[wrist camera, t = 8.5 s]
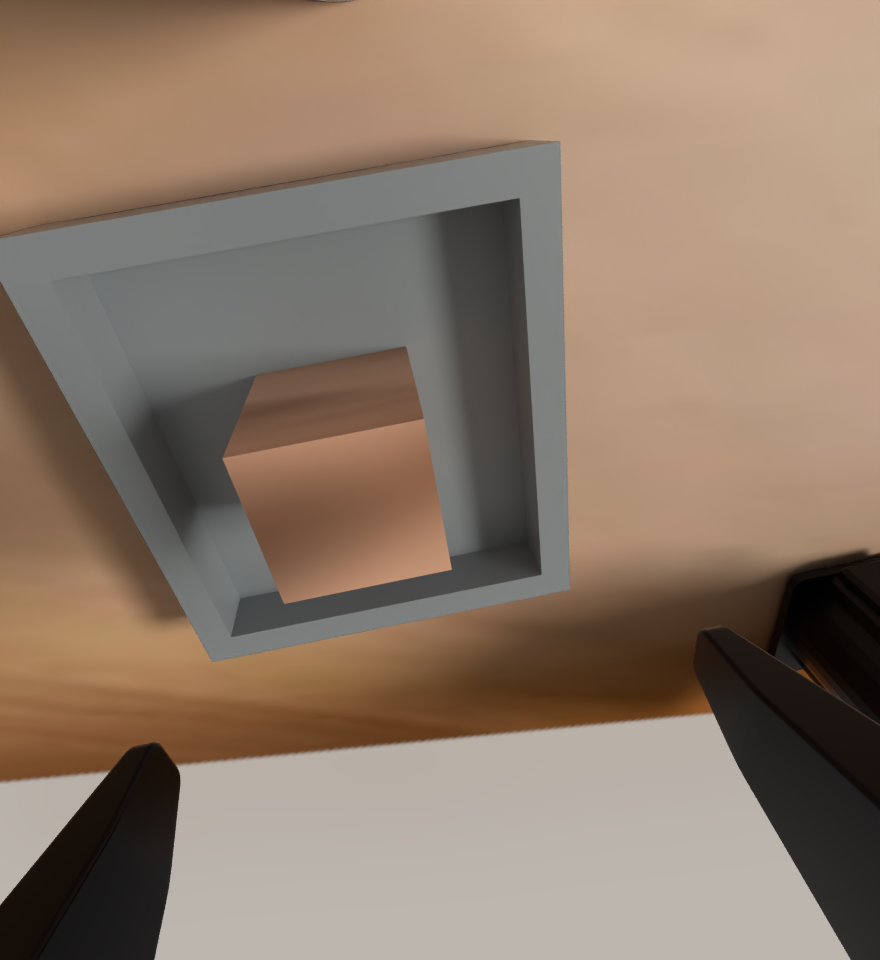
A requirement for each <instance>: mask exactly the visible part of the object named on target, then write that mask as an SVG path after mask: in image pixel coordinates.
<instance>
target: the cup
mask: <svg viewBox="0 0 880 960" xmlns="http://www.w3.org/2000/svg"><path fill="white" fill-rule="evenodd" d="M317 1H326V2H344V1H352V0H317Z"/></svg>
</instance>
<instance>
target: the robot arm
mask: <svg viewBox="0 0 880 960" xmlns="http://www.w3.org/2000/svg"><path fill="white" fill-rule="evenodd" d="M693 664H694V670H695V673H696V676H697V678H698V680H699V683H700V685H701V687H702V689H703V691H704V694H705V696H706V698H707V700H708V702H709V704H710V707H711V709H712V711H713V713H714V715H715V717H716V720H717V722H718V724H719V726H720V729H721V731H722V733H723V735H724V737H725V739H726V742H727V744H728V746H729V748H730V750H731V752H732V755H733V756H734V759H735V761H736V763H737V765H738V767H739V769H740V770H741V772H742V774H743V776H744V778H745V779H746V781H747V783H748V784H749V786H750V788H751V790H752V791H753V793H754V795H755V797H756V798H757V800H758V802H759V803H760V805H761V807H762V808H763V810H764V812H765V813H766V815H767V817H768V819H769V820H770V822H771V824H772V826H773V827H774V829H775V831H776V832H777V834H778V836H779V838H780V839H781V841H782V843H783V844H784V846H785V848H786V849H787V851H788V853H789V855H790V856H791V858H792V860H793V862H794V863H795V865H796V867H797V868H798V870H799V872H800V873H801V875H802V877H803V879H804V880H805V882H806V884H807V885H808V887H809V889H810V891H811V892H812V894H813V896H814V897H815V899H816V901H817V903H818V904H819V906H820V908H821V909H822V911H823V913H824V915H825V916H826V918H827V920H828V921H829V923H830V925H831V927H832V928H833V930H834V932H835V933H836V935H837V937H838V939H839V940H840V942H841V944H842V945H843V947H844V949H845V951H846V952H847V954H848V956H849V957H850V959H851V960H880V557H878V558H873V559H868V560H863V561H858V562H853V563H848V564H844V565H839V566H834V567H829V568H824V569H819V570H814V571H809V572H804V573H800V574H797V575H795V576H793V577H792V578H791V579H790V580H789V581H788V583H787V587H786V591H785V594H784V598H783V602H782V606H781V609H780V613H779V617H778V620H777V624H776V628H775V632H774V635H773V639H772V643H771V646H770V650H769V653H767V652H766V651H764V650H762V649H761V648H759V647H758V646H756V645H755V644H753V643H751V642H750V641H748V640H747V639H745V638H744V637H742V636H741V635H739V634H737V633H736V632H734V631H733V630H731V629H730V628H728V627H725V626H715V627H710V628H705V629H702V630H700V631H699V632H698V634H697V640H696V646H695V653H694V660H693ZM801 669H803V670H804V671H805V672H806V673H807V674H808V676H809V677H810V678H811V679H812V680H813V682H812V681H811V680H809V679H808V678H806V677H805V676H803V675H801V674H800V673H798V672H797V670H801ZM179 792H180V773H179V770H178V768H177V766H176V765H175V764H174V762H173V761H172V760H171V758H170V757H169V755H168V754H167V753H166V751H165V750H164V749H163V747H162V746H161V745H160V744H158V743H156V742H153V743H148V744H143V745H138V746H135V747H132V748H130V749H129V750H128V751H127V752H126V753H125V754H124V755H123V756H122V758H121V759H120V760H119V761H118V762H117V764H116V765H115V766H114V767H113V769H112V770H111V771H110V772H109V773H108V775H107V776H106V777H105V778H104V780H103V781H102V782H101V783H100V784H99V786H98V787H97V788H96V789H95V790H94V792H93V793H92V794H91V796H90V797H89V798H88V799H87V800H86V801H85V803H84V804H83V805H82V806H81V807H80V809H79V810H78V811H77V812H76V814H75V815H74V816H73V817H72V818H71V820H70V821H69V822H68V823H67V825H66V826H65V827H64V828H63V829H62V831H61V832H60V833H59V834H58V835H57V837H56V838H55V839H54V841H53V842H52V843H51V844H50V845H49V847H48V848H47V849H46V850H45V851H44V853H43V854H42V855H41V856H40V857H39V859H38V860H37V861H36V862H35V863H34V865H33V866H32V867H31V868H30V870H29V871H28V872H27V873H26V875H25V876H24V877H23V878H22V879H21V881H20V882H19V883H18V884H17V886H16V887H15V888H14V889H13V890H12V892H11V893H10V894H9V895H8V896H7V898H6V899H5V900H4V901H3V902H2V904H1V905H0V960H154V958H155V954H156V949H157V944H158V939H159V934H160V929H161V924H162V919H163V915H164V910H165V905H166V900H167V894H168V889H169V883H170V874H171V867H172V858H173V848H174V839H175V830H176V820H177V811H178V801H179Z"/></svg>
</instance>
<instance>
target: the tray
mask: <svg viewBox="0 0 880 960" xmlns="http://www.w3.org/2000/svg"><path fill="white" fill-rule="evenodd" d="M0 282H1V283H2V285H3V287H4V289H5V291H6V292H7V294H8V296H9V298H10V300H11V301H12V303H13V305H14V307H15V309H16V310H17V312H18V314H19V316H20V318H21V319H22V321H23V323H24V325H25V327H26V328H27V330H28V332H29V334H30V336H31V337H32V339H33V341H34V343H35V345H36V346H37V348H38V350H39V352H40V353H41V355H42V357H43V359H44V361H45V362H46V364H47V366H48V368H49V370H50V371H51V373H52V375H53V377H54V379H55V380H56V382H57V384H58V386H59V388H60V389H61V391H62V393H63V395H64V397H65V398H66V400H67V402H68V404H69V406H70V407H71V409H72V411H73V413H74V415H75V416H76V418H77V420H78V422H79V424H80V425H81V427H82V429H83V431H84V432H85V434H86V436H87V438H88V440H89V441H90V443H91V445H92V447H93V449H94V450H95V452H96V454H97V456H98V458H99V459H100V461H101V463H102V465H103V467H104V468H105V470H106V472H107V474H108V476H109V477H110V479H111V481H112V483H113V485H114V486H115V488H116V490H117V492H118V494H119V495H120V497H121V499H122V501H123V503H124V504H125V506H126V508H127V510H128V511H129V513H130V515H131V517H132V519H133V520H134V522H135V524H136V526H137V528H138V529H139V531H140V533H141V535H142V537H143V538H144V540H145V542H146V544H147V546H148V547H149V549H150V551H151V553H152V555H153V556H154V558H155V560H156V562H157V564H158V565H159V567H160V569H161V571H162V573H163V574H164V576H165V578H166V580H167V582H168V583H169V585H170V587H171V589H172V590H173V592H174V594H175V596H176V598H177V599H178V601H179V603H180V605H181V607H182V608H183V610H184V612H185V614H186V616H187V617H188V619H189V621H190V623H191V625H192V626H193V628H194V630H195V632H196V634H197V635H198V637H199V639H200V641H201V643H202V644H203V646H204V648H205V650H206V652H207V653H208V655H209V657H210V659H211V661H212V662H216V661H221V660H226V659H231V658H236V657H241V656H246V655H251V654H256V653H261V652H265V651H270V650H275V649H280V648H285V647H290V646H295V645H300V644H305V643H310V642H315V641H320V640H325V639H330V638H335V637H340V636H344V635H349V634H354V633H359V632H364V631H369V630H374V629H379V628H384V627H389V626H394V625H399V624H404V623H409V622H414V621H419V620H423V619H428V618H433V617H438V616H443V615H448V614H453V613H458V612H463V611H468V610H473V609H478V608H483V607H488V606H493V605H497V604H502V603H507V602H512V601H517V600H522V599H527V598H532V597H537V596H542V595H547V594H552V593H557V592H562V591H567V590H570V571H569V524H568V478H567V432H566V386H565V340H564V294H563V247H562V201H561V155H560V141H534V140H530V141H524V142H518V143H512V144H507V145H501V146H495V147H489V148H484V149H478V150H472V151H466V152H461V153H455V154H449V155H443V156H437V157H432V158H426V159H420V160H414V161H409V162H403V163H397V164H391V165H386V166H380V167H374V168H368V169H363V170H357V171H351V172H345V173H339V174H334V175H328V176H322V177H316V178H311V179H305V180H299V181H293V182H288V183H282V184H276V185H270V186H265V187H259V188H253V189H247V190H241V191H236V192H230V193H224V194H218V195H213V196H207V197H201V198H195V199H190V200H184V201H178V202H172V203H167V204H161V205H155V206H149V207H143V208H138V209H132V210H126V211H120V212H115V213H109V214H103V215H97V216H92V217H86V218H80V219H74V220H69V221H63V222H57V223H51V224H46V225H40V226H34V227H31V228H27V229H24V230H20V231H17V232H13V233H10V234H6V235H3V236H0ZM405 346H406V348H407V352H408V356H409V360H410V364H411V368H412V372H413V376H414V380H415V384H416V388H417V392H418V396H419V400H420V404H421V408H422V412H423V416H424V421H425V426H426V432H427V437H428V443H429V448H430V453H431V459H432V464H433V470H434V475H435V481H436V486H437V492H438V497H439V502H440V508H441V513H442V519H443V524H444V530H445V535H446V541H447V546H448V552H449V557H450V562H451V568H452V570H448V571H443V572H438V573H433V574H428V575H423V576H418V577H414V578H409V579H404V580H399V581H394V582H389V583H384V584H379V585H374V586H370V587H365V588H360V589H355V590H350V591H345V592H340V593H335V594H330V595H325V596H321V597H316V598H311V599H306V600H301V601H296V602H291V603H286V604H284V603H283V600H282V598H281V596H280V593H279V591H278V589H277V586H276V584H275V582H274V579H273V577H272V574H271V572H270V570H269V567H268V565H267V563H266V560H265V558H264V556H263V553H262V551H261V548H260V546H259V544H258V541H257V539H256V537H255V534H254V532H253V529H252V527H251V525H250V522H249V520H248V518H247V515H246V513H245V511H244V508H243V506H242V503H241V501H240V499H239V496H238V494H237V492H236V489H235V487H234V485H233V482H232V480H231V477H230V475H229V473H228V470H227V468H226V466H225V463H224V461H223V459H222V458H223V456H224V453H225V451H226V448H227V446H228V443H229V441H230V438H231V436H232V433H233V431H234V428H235V426H236V424H237V421H238V419H239V416H240V414H241V411H242V409H243V406H244V404H245V401H246V399H247V396H248V394H249V391H250V389H251V387H252V384H253V382H254V379H255V377H256V375H259V374H264V373H269V372H274V371H280V370H285V369H290V368H295V367H301V366H306V365H311V364H316V363H321V362H327V361H332V360H337V359H342V358H348V357H353V356H358V355H363V354H369V353H374V352H379V351H384V350H390V349H395V348H400V347H405Z"/></svg>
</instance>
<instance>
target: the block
mask: <svg viewBox="0 0 880 960" xmlns="http://www.w3.org/2000/svg"><path fill="white" fill-rule="evenodd" d="M222 459H223V461H224V463H225V466H226V468H227V470H228V473H229V475H230V477H231V480H232V482H233V485H234V487H235V489H236V492H237V494H238V496H239V499H240V501H241V503H242V506H243V508H244V511H245V513H246V515H247V518H248V520H249V522H250V525H251V527H252V529H253V532H254V534H255V537H256V539H257V541H258V544H259V546H260V548H261V551H262V553H263V556H264V558H265V560H266V563H267V565H268V567H269V570H270V572H271V574H272V577H273V579H274V582H275V584H276V586H277V589H278V591H279V593H280V596H281V598H282V600H283V603H284V604H286V603H291V602H296V601H301V600H306V599H311V598H316V597H321V596H325V595H330V594H335V593H340V592H345V591H350V590H355V589H360V588H365V587H370V586H374V585H379V584H384V583H389V582H394V581H399V580H404V579H409V578H414V577H418V576H423V575H428V574H433V573H438V572H443V571H448V570H452V568H451V562H450V557H449V552H448V546H447V541H446V535H445V530H444V524H443V519H442V513H441V508H440V502H439V497H438V492H437V486H436V481H435V475H434V470H433V464H432V459H431V453H430V448H429V443H428V437H427V432H426V426H425V421H424V416H423V412H422V408H421V404H420V400H419V396H418V392H417V388H416V384H415V380H414V376H413V372H412V368H411V364H410V360H409V356H408V352H407V348H406V346H405V347H400V348H395V349H390V350H384V351H379V352H374V353H369V354H363V355H358V356H353V357H348V358H342V359H337V360H332V361H327V362H321V363H316V364H311V365H306V366H301V367H295V368H290V369H285V370H280V371H274V372H269V373H264V374H259V375H256V377H255V379H254V382H253V384H252V387H251V389H250V391H249V394H248V396H247V399H246V401H245V404H244V406H243V409H242V411H241V414H240V416H239V419H238V421H237V424H236V426H235V428H234V431H233V433H232V436H231V438H230V441H229V443H228V446H227V448H226V451H225V453H224V456H223V458H222Z"/></svg>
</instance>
